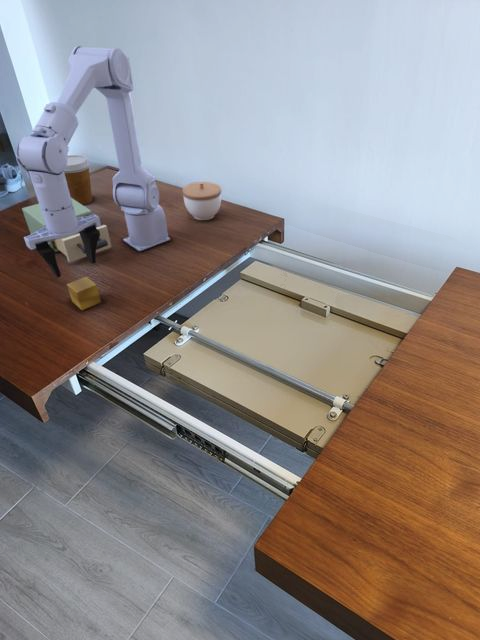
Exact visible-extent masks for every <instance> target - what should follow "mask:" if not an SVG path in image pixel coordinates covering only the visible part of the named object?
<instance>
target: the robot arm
mask: <svg viewBox="0 0 480 640" xmlns="http://www.w3.org/2000/svg"><path fill="white" fill-rule="evenodd" d="M68 68H69V74H68V76H67V78H66V81H65V83H64V85H63V87H62V90H61V92H60V95H59V97H58V99H57V101H51V102H49V103H46V104H45V106H44V108H43V112H42V113H41V115H40V117H39V119H38V121H37V123H36V124H35V126H34V128H33V130H32V131H31V133H30V135H26V136H23V137H22V138H21V139H20V140H19V141H18V142H17V145H16V158H15V160H16V162H17V165H18V166H19V167H20V168H21V169H22V171H24V172H25V174H26V177H27V179H28V180H29V181H30V182H31V183H32V186H33V189H34V192H35V195H36V199H37V202H38V204H39V205H40V208H41V211H42V215H43V218H44V221H45V224H46V227H44V228H42V229H40V230H38V231H36V232H35V233H33V234H31V233H30V234H29V235H26V236H24V237H23V239H24V241H25V245H26V247H27V248H28V249H30V251H33V250H35V251H36V252H37V253H38V254H39V255H40V256H41V257H42V258H43V261H45V263H46V264H47V265H48V267H49V268H50V271H51V272H52V274H53V275H54V276H55V277H56V278H60V277H62V275H61V270H60V268H59V266H58V262H57V258H56V257H57V256H56V252H55V250H54V249H52V248H51V247H50V245H49V244H48V242H51V241H54V240H57V239H60V238H64V237H68V236H72V235H74V234H76V233H78V232H79V234H80V236H81V239H82V241H83V244H84V248H85V252H86V259H87V261H88V262H89V263H90V264H92V265H94V264H96V262H97V261H96V257H97V255H96V254H97V253H96V247H97V243H98V239H99V237H100V232H99V230H98V229H96V227H100V226H102V224H101V219H100V217H99V216H98V215H96V214H95V213H92V215H90V216H85V217H79V218H76V215H75V211H74V207H73V204H72V200H71V196H70V193H69V189H68V185H67V181H66V178H65V174H64V169H65V168H66V166H67V160H68V158H67V156H68V153H69V149H70V148H69V144H70V142H71V140H72V138H73V136H74V134H75V132H76V131H77V128H78V126H79V119H78V117H77V113H78V112H79V111H80V109H81V107H82V106H83V104H84V103H85V102H86V100H87V98H88V97H89V95H90V94H91V93H92V91H93V89H96V90H97V91H98V92H100V93H101V94H102V95H103V96H104V97H105V99H106V103H107V104H106V105H107V109H108V110H107V111H108V114H109V121H110V126H111V131H112V136H113V137H112V138H113V141H114V147H115V152H116V158H117V163H118V168H119V171H117V172H116V173H115V174H114V176H113V177H112V178H111V179H112V186H113V187H112V197H113V201H114V203H115V204H116V206H118V207H120V211H121V212H124V218H125V223H126V228H127V233H128V237H125V238H123V242H124V243H126V244H127V245H128V246H130V247H132V248H133V249H135V250H136V251H137V252H142V251H145V250H147V249H150V248H153V247H155V246H157V245H161V244H163V243H165V242H168V241H170V240H171V238H170V236H169V232H168V225H167V219H166V218H167V217H166V214H165V211H164V209H163V207H162V206H161V205H160V204H159V202H160V191H159V188H158V186H157V183H156V178H155V176H154V175H153V174H151V172H149V171H148V170H147V169H145V168H144V167H143V165H142V157H141V152H140V151H141V150H140V144H139V139H138V131H137V125H136V119H135V118H136V117H135V112H134V106H133V105H134V104H133V99H132V93H131V92H132V91H134V84H133V83H134V82H133V75H132V68H131V62H130V58H129V56H127V54H126V53H125V52H124V51H123V50H122V49H121V48H118V47H114V48H105V47H89V46H81V45H77V46H74V47H73V49H72V51H71V53H70V55H69V57H68Z"/></svg>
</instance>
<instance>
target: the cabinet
mask: <svg viewBox="0 0 480 640" xmlns="http://www.w3.org/2000/svg"><path fill="white" fill-rule="evenodd" d="M71 200H72V204H73V207H74V211H75V215H76V218H79V217H82V216H85V215H87V216H90V215H93V212H92V209H89V208H88V207H86V206H85V205H84V204H83V205H82V204H80V203H79V202H77V201H76V200H74V199H72V198H71ZM21 210H22V213H23V216H24V218H25V222H26V225H27V228H28V230H29V232H30V235H31V234H33V233H35V232H36V231H38V230H40V229H42V228H44V227H46V224H45V221H44V218H43V215H42V211H41V208H40V205H39V203H36V204H32V205H28V206H25V207H22V208H21ZM48 244H49V245H50V247H51V248H52V249H54V250H55V253H57V252H61V251H60V250H58V249H57V248H56V247H55V246H54V245H53V243H52V241H51V242H48Z"/></svg>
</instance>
